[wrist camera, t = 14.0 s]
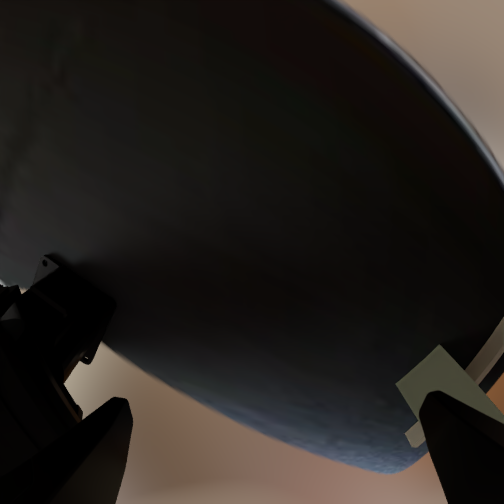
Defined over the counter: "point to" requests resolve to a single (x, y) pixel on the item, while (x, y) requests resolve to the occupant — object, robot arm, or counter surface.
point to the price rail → (470, 374)
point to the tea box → (444, 384)
